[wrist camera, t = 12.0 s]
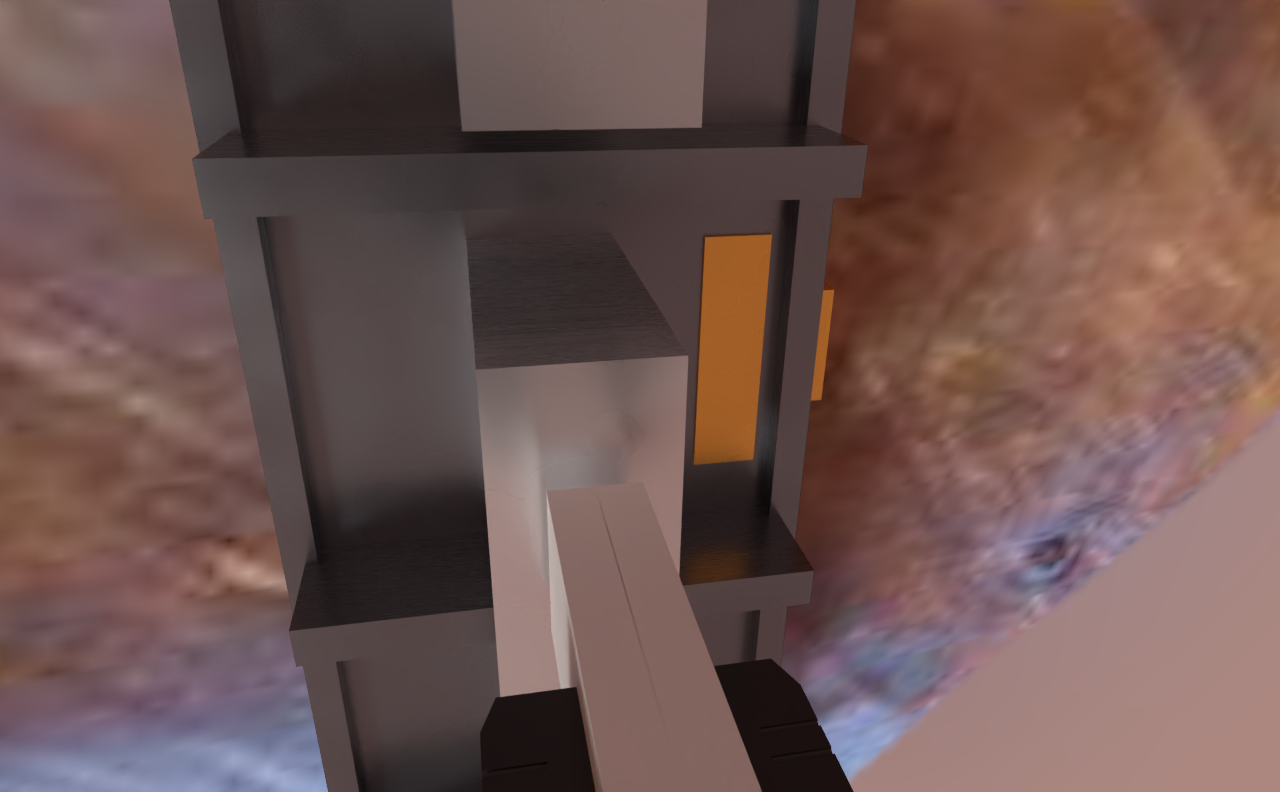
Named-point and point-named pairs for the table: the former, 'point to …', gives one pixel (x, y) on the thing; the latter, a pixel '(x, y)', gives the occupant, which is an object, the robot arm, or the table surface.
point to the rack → (441, 305)
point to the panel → (565, 414)
